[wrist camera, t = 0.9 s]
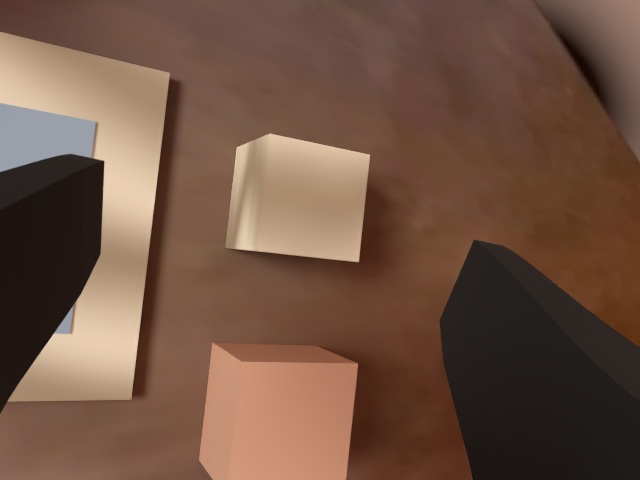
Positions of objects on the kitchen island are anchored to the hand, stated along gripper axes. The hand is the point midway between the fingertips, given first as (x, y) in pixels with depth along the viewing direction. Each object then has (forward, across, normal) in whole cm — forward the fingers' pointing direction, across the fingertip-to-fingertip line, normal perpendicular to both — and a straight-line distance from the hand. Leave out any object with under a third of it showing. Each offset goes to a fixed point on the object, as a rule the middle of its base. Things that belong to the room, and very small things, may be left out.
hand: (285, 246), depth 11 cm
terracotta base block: (+9, -1, +13) cm, 16 cm away
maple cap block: (+13, 0, +6) cm, 15 cm away
